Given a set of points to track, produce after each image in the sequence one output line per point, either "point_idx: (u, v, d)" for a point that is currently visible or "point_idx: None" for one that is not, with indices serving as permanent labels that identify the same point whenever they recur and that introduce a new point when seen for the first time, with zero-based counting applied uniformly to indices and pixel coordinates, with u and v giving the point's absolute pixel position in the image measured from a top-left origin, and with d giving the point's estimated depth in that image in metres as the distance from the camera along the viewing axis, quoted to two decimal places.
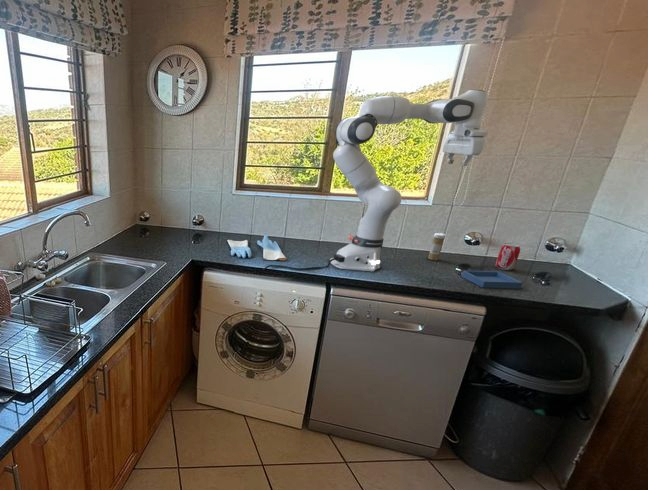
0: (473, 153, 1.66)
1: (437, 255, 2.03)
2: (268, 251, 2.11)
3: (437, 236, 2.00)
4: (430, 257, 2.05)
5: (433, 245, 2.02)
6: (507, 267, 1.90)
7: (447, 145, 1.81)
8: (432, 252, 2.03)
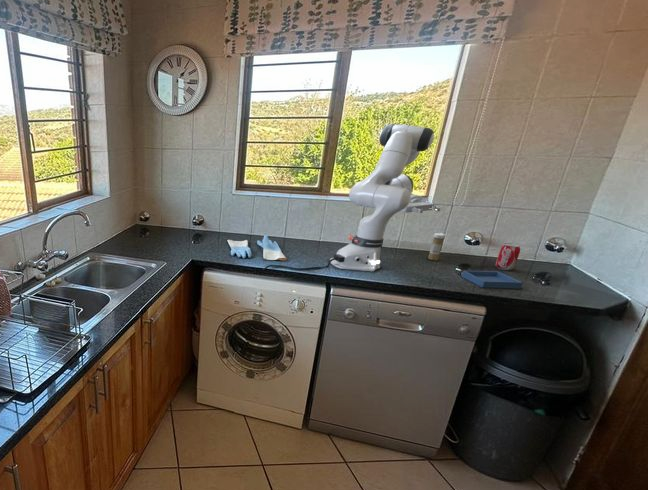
0: None
1: (437, 255, 2.03)
2: (268, 251, 2.11)
3: (437, 236, 2.00)
4: (430, 257, 2.05)
5: (433, 245, 2.02)
6: (507, 267, 1.90)
7: (408, 204, 2.11)
8: (432, 252, 2.03)
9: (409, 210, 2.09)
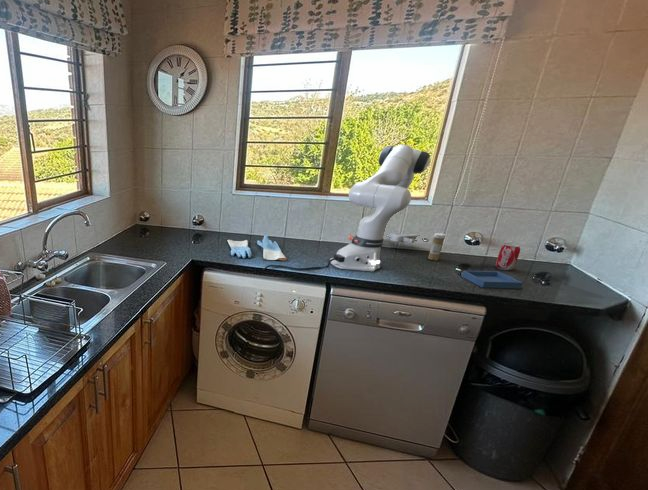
0: None
1: (437, 255, 2.03)
2: (268, 251, 2.11)
3: (437, 236, 2.00)
4: (430, 257, 2.05)
5: (433, 245, 2.02)
6: (507, 267, 1.90)
7: (399, 234, 2.17)
8: (432, 252, 2.03)
9: (401, 240, 2.14)
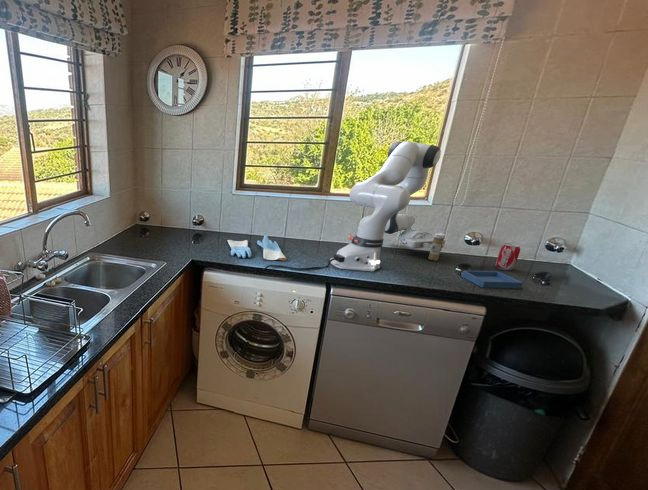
0: None
1: (437, 255, 2.03)
2: (268, 251, 2.11)
3: (437, 236, 2.00)
4: (430, 257, 2.05)
5: None
6: (507, 267, 1.90)
7: (415, 240, 2.07)
8: (432, 252, 2.03)
9: (417, 246, 2.05)
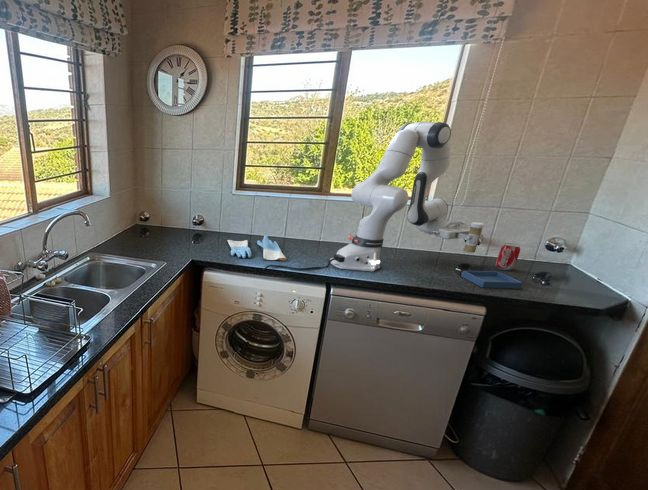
0: None
1: (474, 247, 1.83)
2: (268, 251, 2.11)
3: (475, 225, 1.80)
4: (466, 249, 1.85)
5: None
6: (507, 267, 1.90)
7: (449, 230, 1.87)
8: (468, 243, 1.83)
9: (452, 236, 1.85)
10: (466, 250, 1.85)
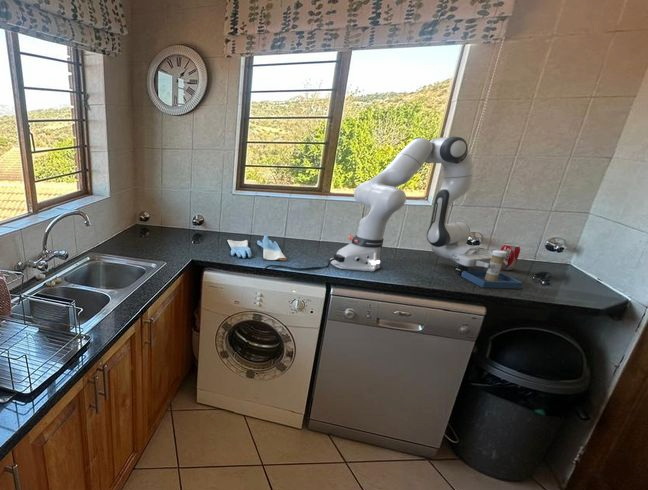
0: None
1: (496, 276, 1.73)
2: (268, 251, 2.11)
3: (497, 254, 1.71)
4: (487, 278, 1.75)
5: (491, 264, 1.73)
6: (507, 267, 1.90)
7: (469, 256, 1.77)
8: (490, 272, 1.74)
9: (472, 264, 1.75)
10: (487, 279, 1.75)
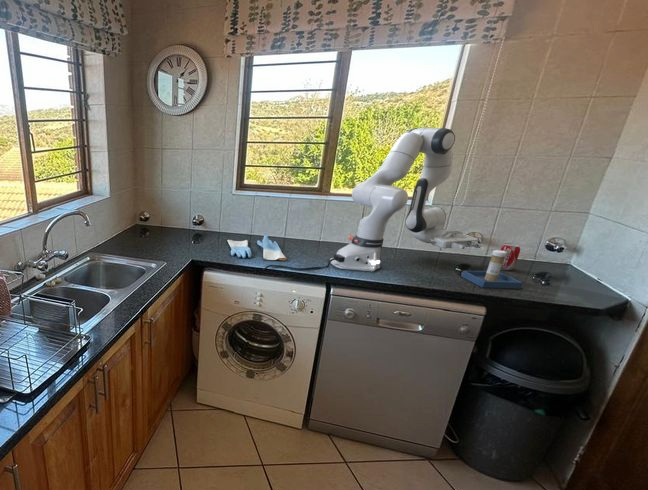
0: None
1: (496, 276, 1.73)
2: (268, 251, 2.11)
3: (497, 254, 1.71)
4: (487, 278, 1.75)
5: (491, 264, 1.73)
6: (507, 267, 1.90)
7: (445, 239, 1.88)
8: (490, 272, 1.74)
9: (448, 245, 1.85)
10: (487, 279, 1.75)
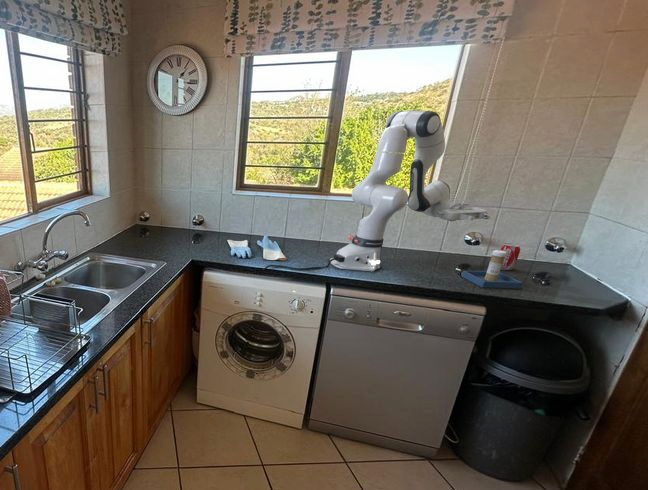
0: None
1: (496, 276, 1.73)
2: (268, 251, 2.11)
3: (497, 254, 1.71)
4: (487, 278, 1.75)
5: (491, 264, 1.73)
6: (507, 267, 1.90)
7: (454, 211, 1.83)
8: (490, 272, 1.74)
9: (457, 217, 1.81)
10: (487, 279, 1.75)
